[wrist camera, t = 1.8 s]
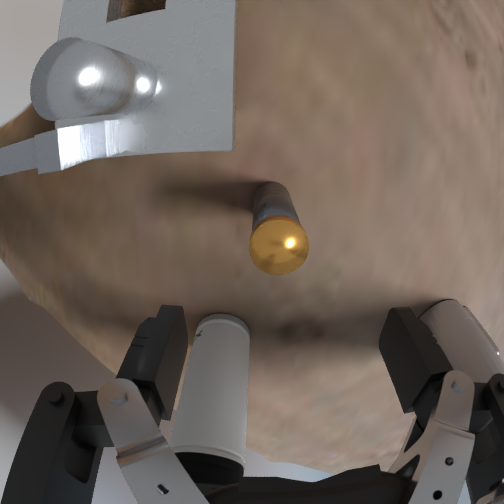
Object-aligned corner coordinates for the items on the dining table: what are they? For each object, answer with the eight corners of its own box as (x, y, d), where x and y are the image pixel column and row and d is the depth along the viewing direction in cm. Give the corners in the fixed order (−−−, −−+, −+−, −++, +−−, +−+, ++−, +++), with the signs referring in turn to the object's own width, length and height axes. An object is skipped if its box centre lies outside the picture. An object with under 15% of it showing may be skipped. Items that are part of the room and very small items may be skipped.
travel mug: (186, 316, 32) (140, 483, 14) (242, 308, 31) (228, 492, 13) (204, 353, 34) (177, 503, 16) (255, 347, 33) (251, 507, 16)
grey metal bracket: (242, -23, 16) (227, -119, 3) (238, 142, 23) (213, 175, 10) (41, 26, 16) (-51, 14, 3) (39, 162, 23) (-57, 206, 11)
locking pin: (292, 181, 24) (311, 222, 16) (289, 217, 26) (305, 275, 17) (253, 180, 24) (249, 220, 16) (252, 216, 26) (249, 273, 17)
